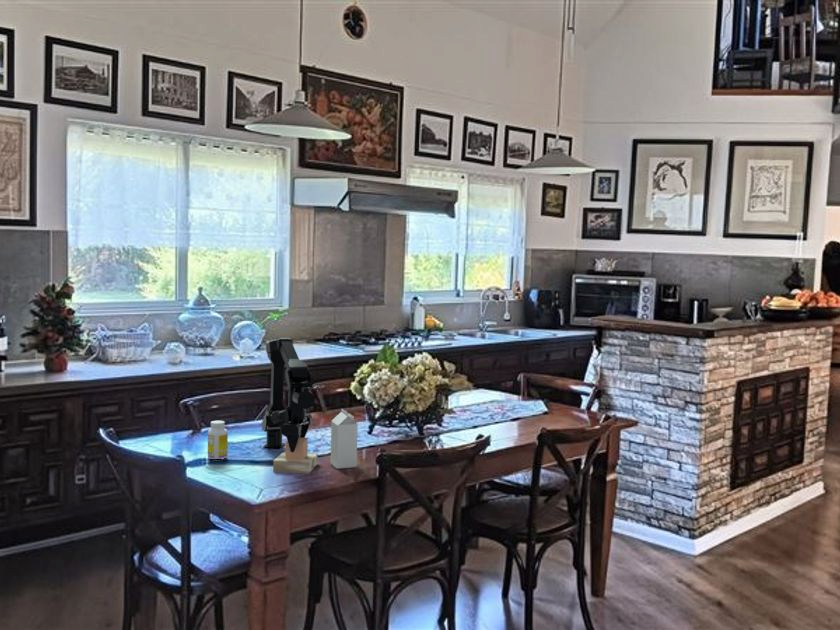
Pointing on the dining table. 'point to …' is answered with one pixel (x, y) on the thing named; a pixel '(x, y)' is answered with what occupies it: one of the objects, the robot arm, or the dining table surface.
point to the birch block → (295, 464)
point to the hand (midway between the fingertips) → (296, 448)
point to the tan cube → (297, 450)
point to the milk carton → (344, 441)
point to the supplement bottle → (217, 440)
